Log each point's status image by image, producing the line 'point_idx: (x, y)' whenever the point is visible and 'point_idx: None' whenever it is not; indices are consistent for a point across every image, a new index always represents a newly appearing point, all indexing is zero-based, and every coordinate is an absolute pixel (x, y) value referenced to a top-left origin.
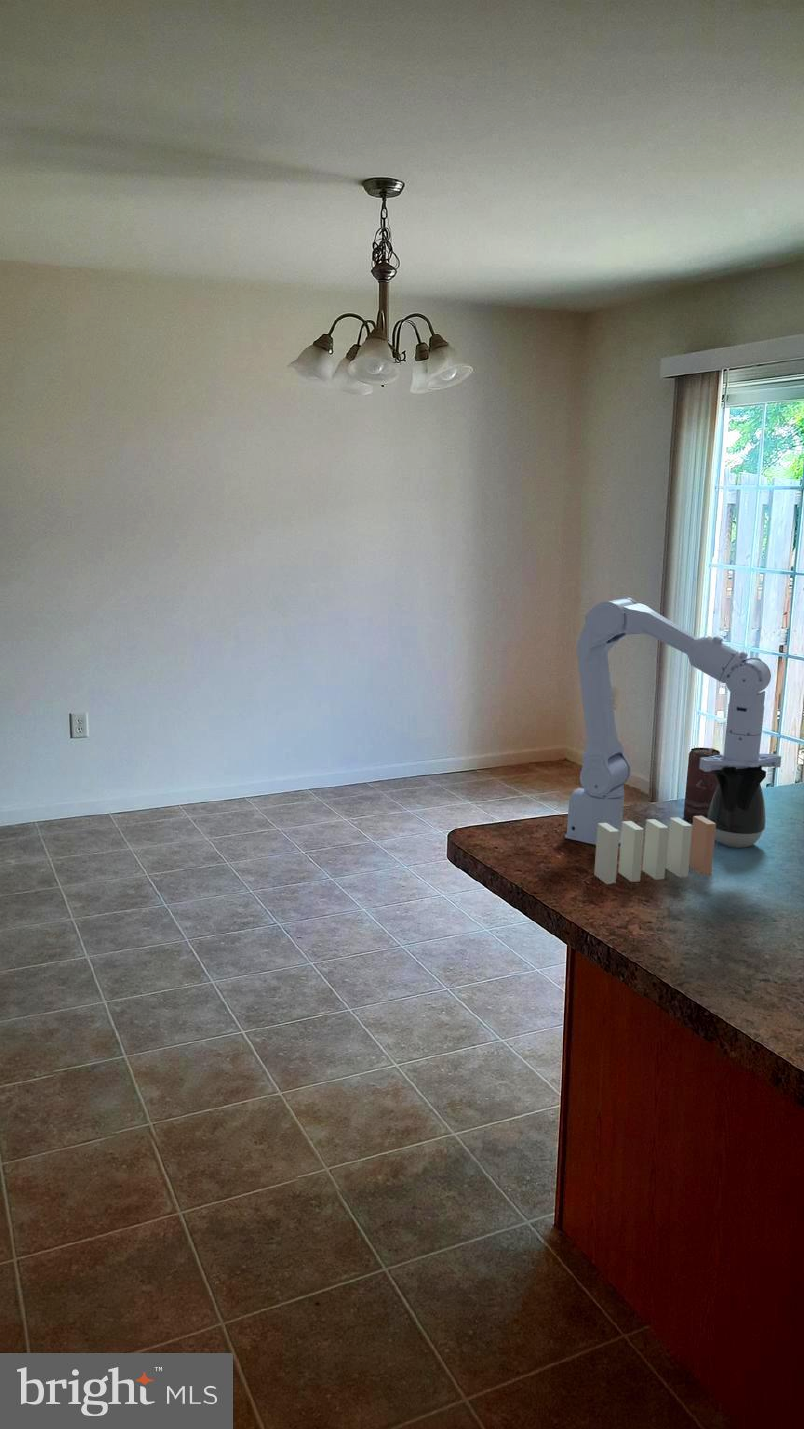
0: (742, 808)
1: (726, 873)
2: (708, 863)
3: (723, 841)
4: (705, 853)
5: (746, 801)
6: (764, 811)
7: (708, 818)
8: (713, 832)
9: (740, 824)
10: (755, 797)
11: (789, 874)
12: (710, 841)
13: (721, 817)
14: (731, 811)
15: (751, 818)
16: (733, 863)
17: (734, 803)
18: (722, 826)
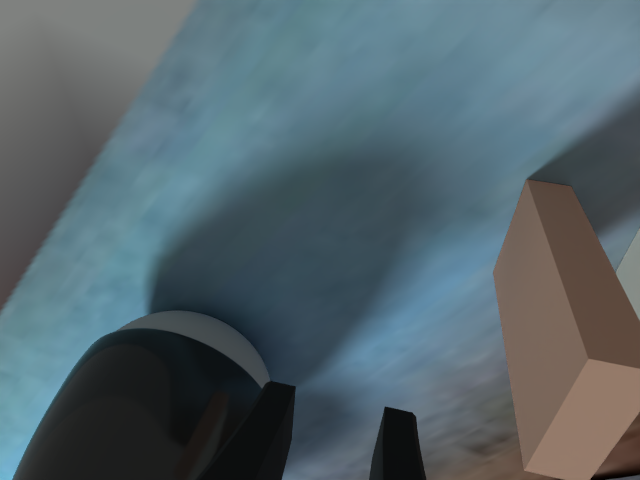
0: (292, 411)
1: (448, 163)
2: (557, 208)
3: (260, 358)
4: (596, 242)
5: (270, 449)
6: (59, 400)
7: None
8: (588, 314)
9: (202, 379)
10: (68, 476)
11: (182, 49)
12: (586, 279)
13: None
14: (411, 413)
15: (144, 384)
16: (333, 232)
17: (401, 467)
18: None
